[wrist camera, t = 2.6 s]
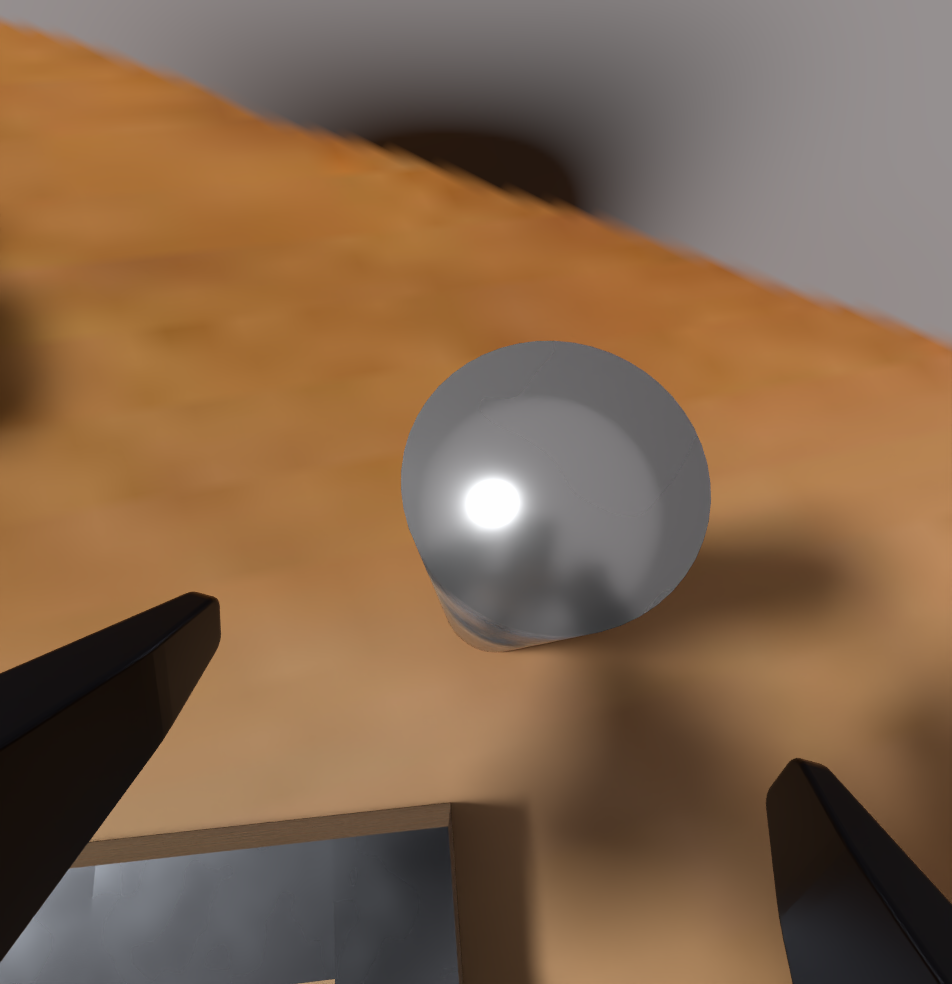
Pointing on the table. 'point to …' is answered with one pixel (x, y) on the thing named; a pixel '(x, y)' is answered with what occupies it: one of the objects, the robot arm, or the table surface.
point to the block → (256, 906)
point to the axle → (552, 494)
